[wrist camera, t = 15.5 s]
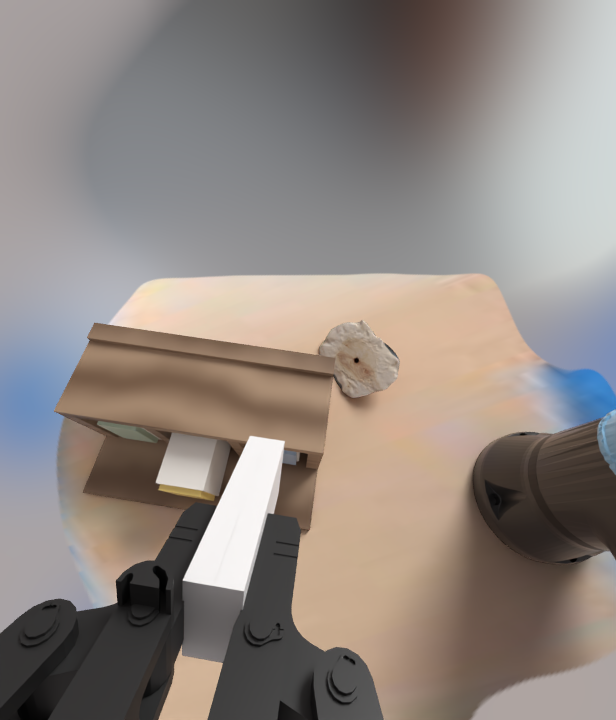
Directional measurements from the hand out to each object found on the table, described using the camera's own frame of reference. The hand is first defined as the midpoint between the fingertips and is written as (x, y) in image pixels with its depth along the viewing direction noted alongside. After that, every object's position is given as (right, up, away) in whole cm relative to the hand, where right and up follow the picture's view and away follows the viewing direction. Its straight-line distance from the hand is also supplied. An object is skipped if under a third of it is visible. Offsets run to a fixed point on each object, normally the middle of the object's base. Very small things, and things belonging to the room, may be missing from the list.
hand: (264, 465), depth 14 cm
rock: (+9, +4, +36) cm, 37 cm away
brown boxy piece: (-11, -7, +30) cm, 32 cm away
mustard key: (-11, -9, +28) cm, 31 cm away
